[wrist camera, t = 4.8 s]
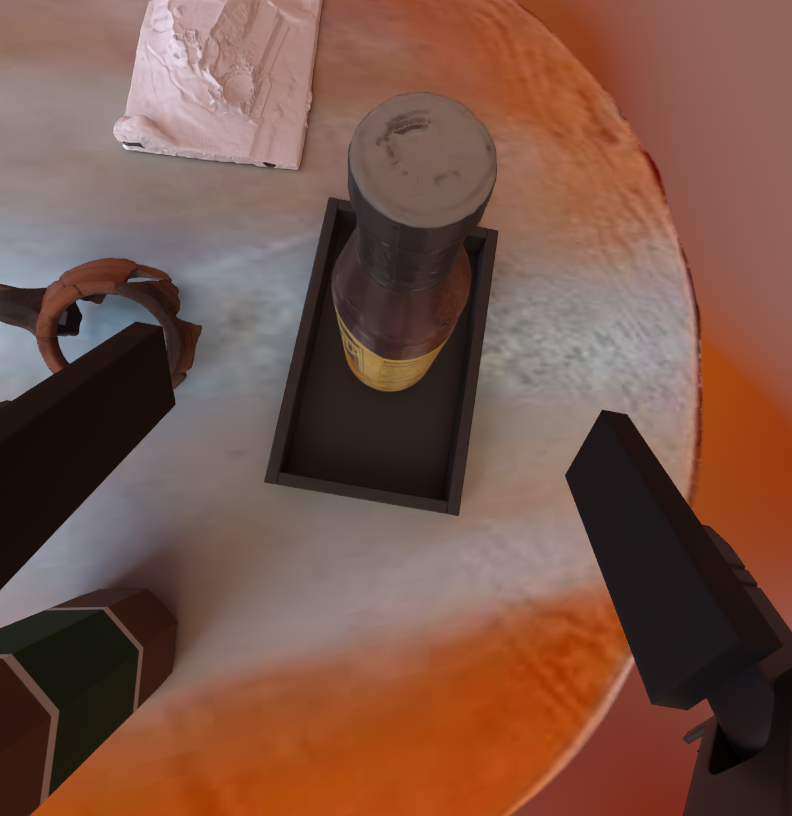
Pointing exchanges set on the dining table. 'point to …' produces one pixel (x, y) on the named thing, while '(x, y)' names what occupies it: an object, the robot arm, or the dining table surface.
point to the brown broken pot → (91, 282)
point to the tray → (379, 397)
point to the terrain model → (223, 80)
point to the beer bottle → (74, 685)
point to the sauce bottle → (409, 234)
